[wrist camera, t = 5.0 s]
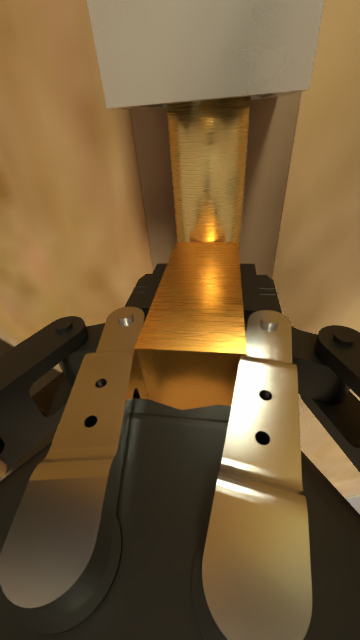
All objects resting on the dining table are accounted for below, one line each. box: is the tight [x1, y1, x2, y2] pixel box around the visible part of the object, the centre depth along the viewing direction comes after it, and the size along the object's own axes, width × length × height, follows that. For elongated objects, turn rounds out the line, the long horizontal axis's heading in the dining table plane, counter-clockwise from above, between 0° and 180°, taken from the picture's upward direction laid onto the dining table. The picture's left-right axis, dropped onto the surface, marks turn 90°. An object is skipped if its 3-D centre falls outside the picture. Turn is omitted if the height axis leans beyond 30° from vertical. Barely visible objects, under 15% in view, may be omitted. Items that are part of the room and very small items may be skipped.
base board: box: [130, 91, 302, 279], centre depth 15 cm, size 8×28×1 cm, turn 4°
